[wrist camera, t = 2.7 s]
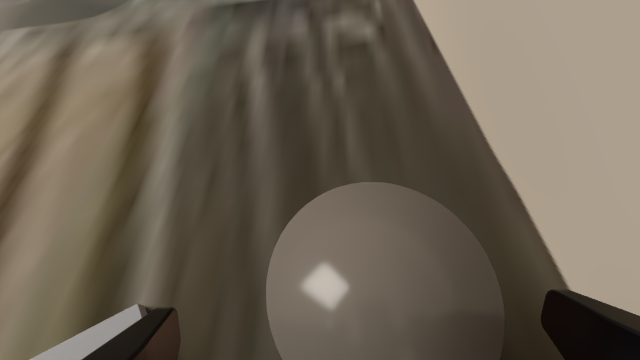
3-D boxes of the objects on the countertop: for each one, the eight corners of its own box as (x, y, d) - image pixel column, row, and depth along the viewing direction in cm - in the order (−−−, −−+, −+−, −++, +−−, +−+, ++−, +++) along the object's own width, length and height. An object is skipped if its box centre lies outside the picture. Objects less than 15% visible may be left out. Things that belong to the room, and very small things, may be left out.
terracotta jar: (396, 373, 14) (553, 392, 6) (292, 402, 13) (288, 476, 5) (366, 269, 17) (444, 168, 8) (275, 288, 16) (252, 199, 7)
